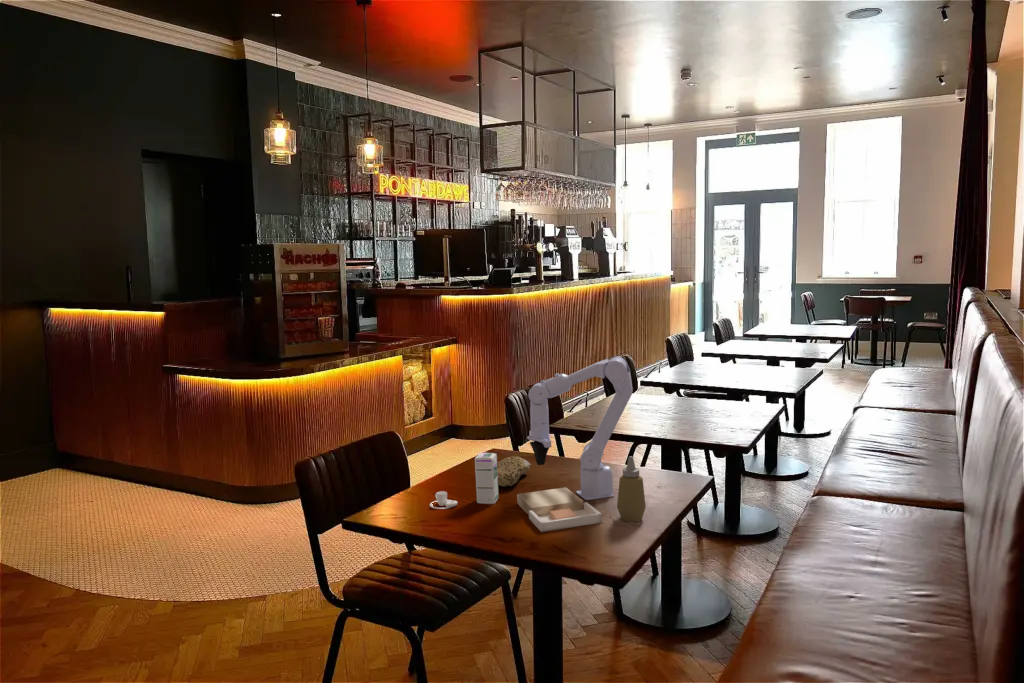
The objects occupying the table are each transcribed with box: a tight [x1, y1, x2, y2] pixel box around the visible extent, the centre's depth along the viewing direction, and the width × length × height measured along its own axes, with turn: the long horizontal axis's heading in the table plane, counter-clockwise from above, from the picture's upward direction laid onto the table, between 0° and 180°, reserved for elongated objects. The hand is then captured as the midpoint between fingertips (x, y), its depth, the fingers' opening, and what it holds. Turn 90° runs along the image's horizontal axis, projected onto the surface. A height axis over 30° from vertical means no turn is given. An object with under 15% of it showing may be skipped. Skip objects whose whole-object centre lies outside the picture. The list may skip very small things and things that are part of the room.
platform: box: [516, 486, 584, 516], centre depth 214 cm, size 16×13×3 cm
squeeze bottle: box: [616, 455, 647, 523], centre depth 203 cm, size 8×8×18 cm
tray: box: [528, 501, 603, 533], centre depth 203 cm, size 18×10×2 cm, turn 108°
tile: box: [550, 508, 577, 520], centre depth 204 cm, size 6×6×2 cm
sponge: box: [497, 455, 532, 488], centre depth 240 cm, size 13×8×20 cm
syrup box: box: [474, 452, 500, 505], centre depth 221 cm, size 6×6×14 cm
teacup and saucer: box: [429, 490, 458, 510], centre depth 219 cm, size 9×8×4 cm
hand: (540, 464), depth 226 cm, fingers closed
